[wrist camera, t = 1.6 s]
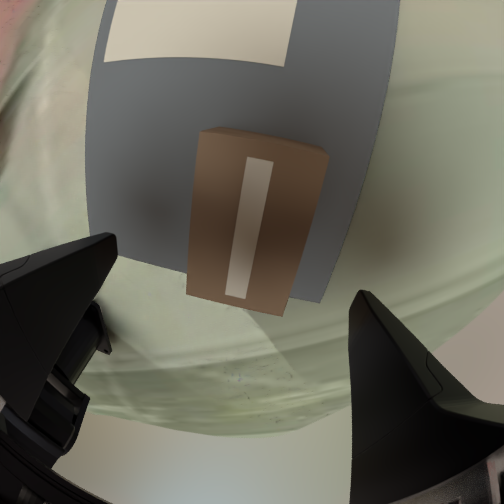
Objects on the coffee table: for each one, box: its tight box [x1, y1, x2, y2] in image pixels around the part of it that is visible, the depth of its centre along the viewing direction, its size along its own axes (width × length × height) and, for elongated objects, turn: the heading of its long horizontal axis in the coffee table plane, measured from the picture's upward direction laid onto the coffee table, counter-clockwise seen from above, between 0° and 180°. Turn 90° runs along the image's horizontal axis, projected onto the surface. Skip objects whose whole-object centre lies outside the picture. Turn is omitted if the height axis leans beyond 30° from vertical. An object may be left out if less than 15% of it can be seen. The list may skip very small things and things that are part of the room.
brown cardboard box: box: [186, 126, 330, 317], centre depth 13 cm, size 8×5×3 cm, turn 170°
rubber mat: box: [85, 0, 400, 303], centre depth 11 cm, size 22×16×1 cm
